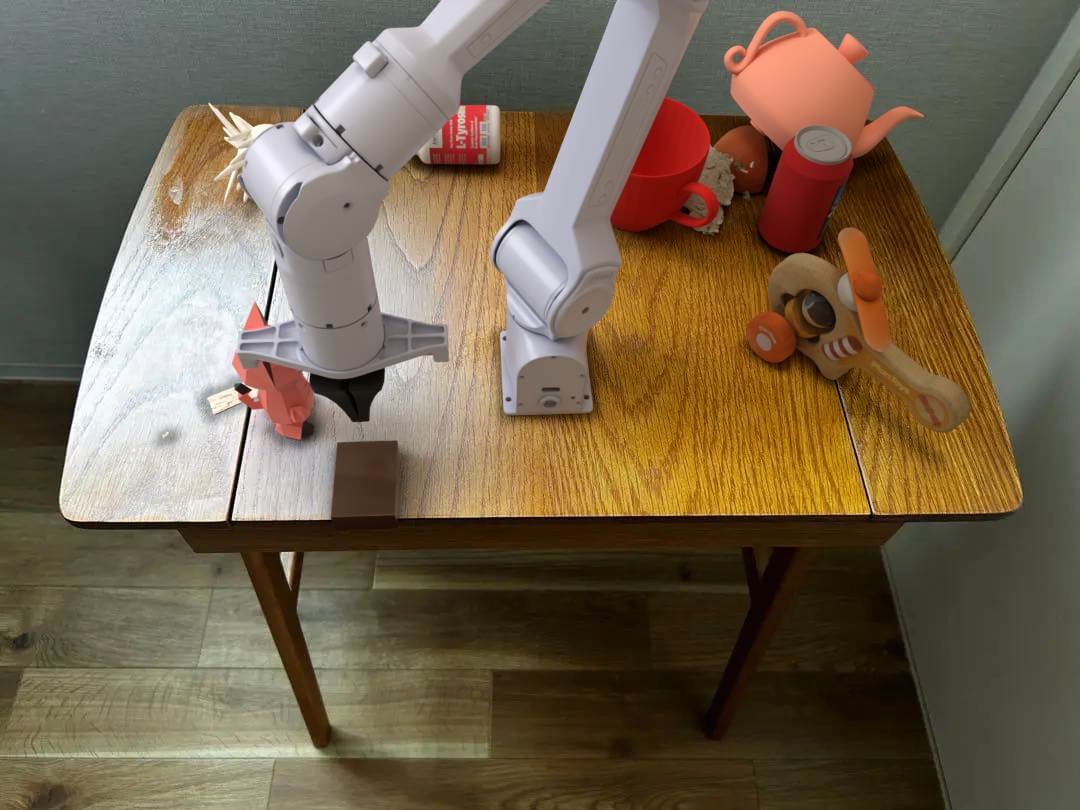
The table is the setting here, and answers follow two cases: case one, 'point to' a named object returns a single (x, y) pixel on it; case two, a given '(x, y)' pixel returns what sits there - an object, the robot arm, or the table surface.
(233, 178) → the spiky ball
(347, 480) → the walnut block
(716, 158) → the stone fragment
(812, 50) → the teapot
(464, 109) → the pill bottle
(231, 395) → the card
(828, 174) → the beverage can
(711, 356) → the table surface
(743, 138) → the brown egg
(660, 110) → the ceramic cup
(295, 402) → the cat figurine
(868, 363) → the toy helicopter
